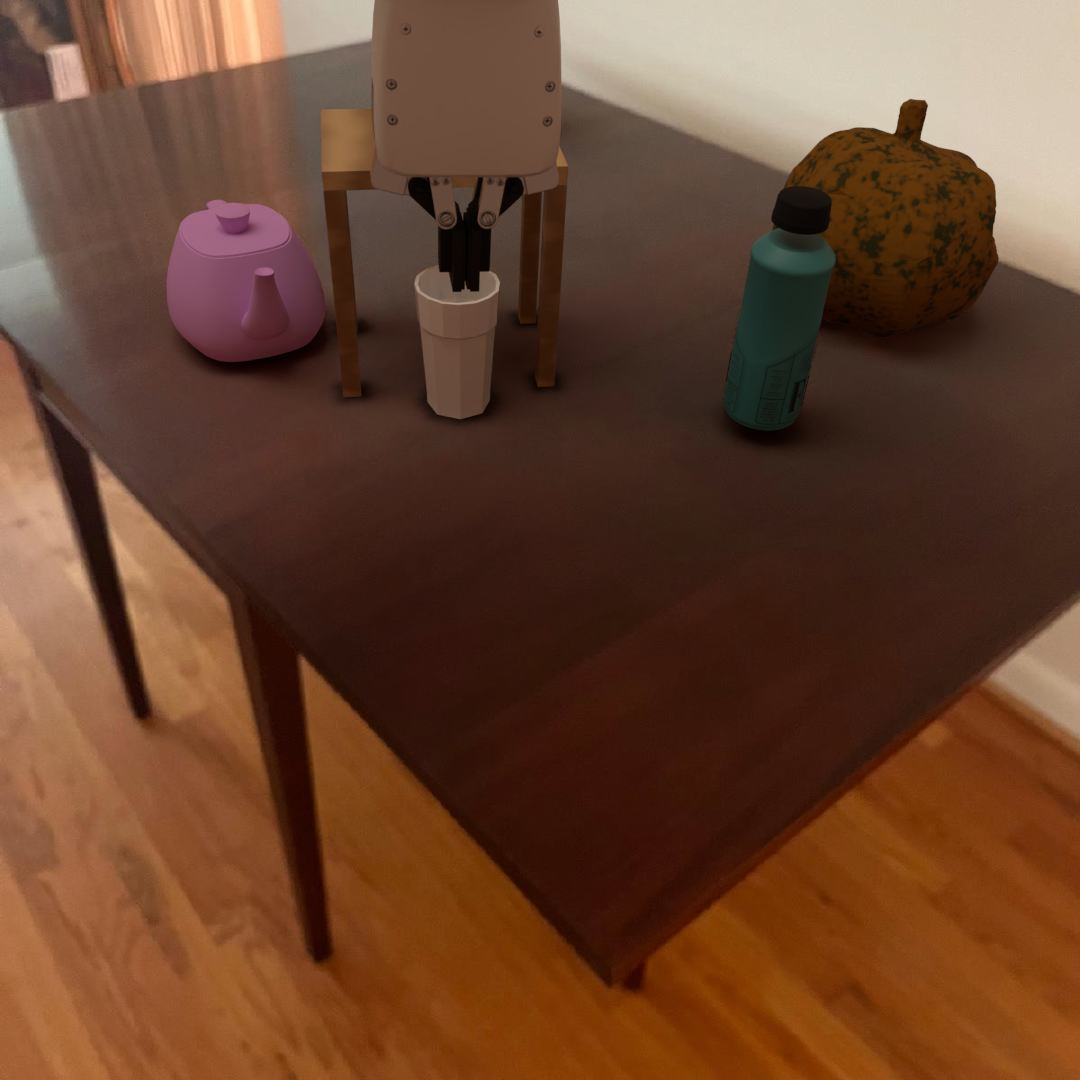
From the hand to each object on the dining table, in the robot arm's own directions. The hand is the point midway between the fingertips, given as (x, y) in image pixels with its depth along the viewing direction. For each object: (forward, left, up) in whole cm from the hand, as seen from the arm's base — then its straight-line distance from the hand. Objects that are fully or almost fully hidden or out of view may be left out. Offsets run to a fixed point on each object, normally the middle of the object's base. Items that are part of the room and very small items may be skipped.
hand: (463, 280), depth 64 cm
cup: (+1, +15, -20) cm, 25 cm away
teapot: (-16, +27, -20) cm, 37 cm away
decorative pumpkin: (+43, +28, -20) cm, 55 cm away
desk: (+1, +23, -20) cm, 30 cm away
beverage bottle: (+26, +10, -20) cm, 34 cm away
